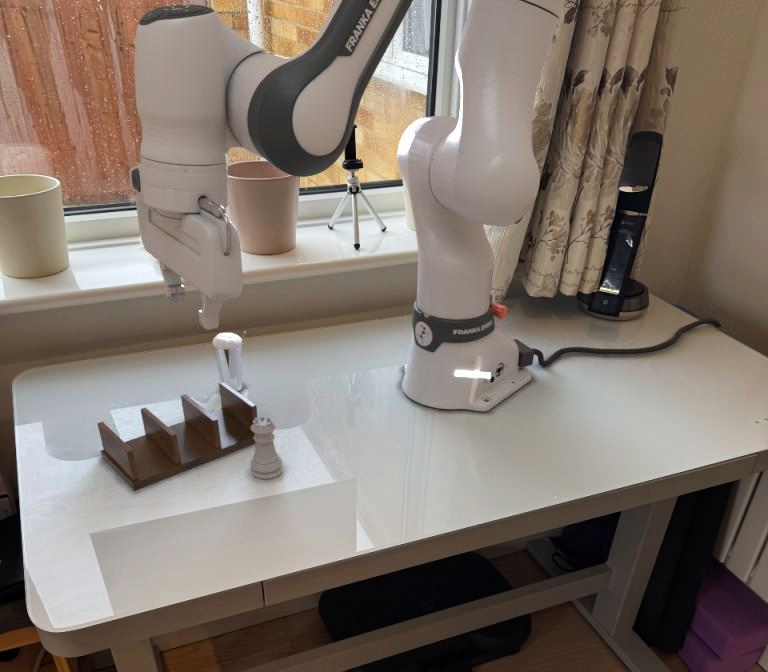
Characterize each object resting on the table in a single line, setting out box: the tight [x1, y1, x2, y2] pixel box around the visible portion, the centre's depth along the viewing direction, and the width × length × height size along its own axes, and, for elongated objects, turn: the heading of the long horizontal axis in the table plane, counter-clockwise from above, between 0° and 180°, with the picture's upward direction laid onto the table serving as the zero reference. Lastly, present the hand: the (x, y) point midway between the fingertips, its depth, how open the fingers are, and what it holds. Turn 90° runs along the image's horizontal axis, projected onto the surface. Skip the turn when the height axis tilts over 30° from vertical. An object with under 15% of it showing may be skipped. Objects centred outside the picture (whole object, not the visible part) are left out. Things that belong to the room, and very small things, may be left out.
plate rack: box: [96, 381, 259, 491], centre depth 104 cm, size 20×10×6 cm, turn 131°
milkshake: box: [211, 332, 246, 393], centre depth 117 cm, size 4×5×10 cm
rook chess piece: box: [249, 415, 284, 481], centre depth 100 cm, size 4×4×8 cm
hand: (191, 313), depth 87 cm, fingers open, 8 cm apart
